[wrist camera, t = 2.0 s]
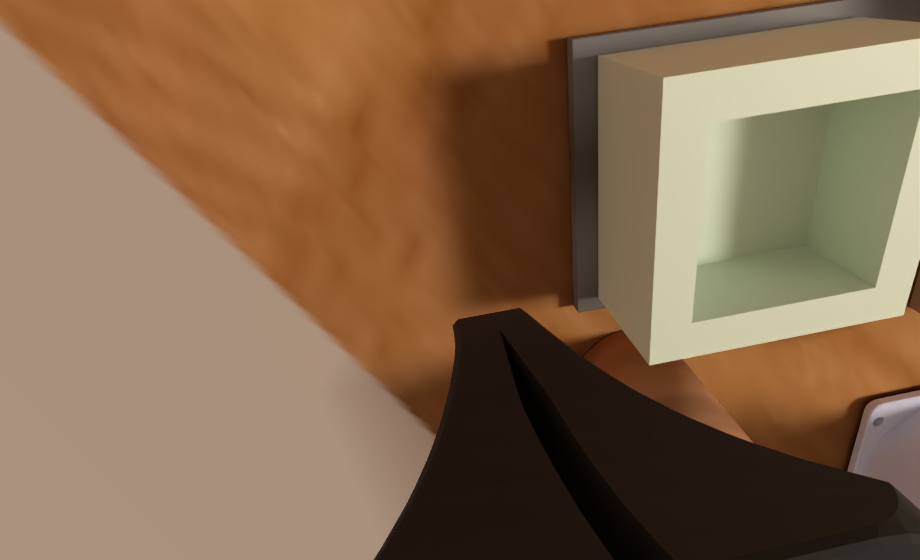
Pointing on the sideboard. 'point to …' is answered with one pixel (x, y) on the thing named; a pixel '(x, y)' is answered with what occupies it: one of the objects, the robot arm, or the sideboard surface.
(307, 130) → the sideboard surface
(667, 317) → the socket block
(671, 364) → the dowel
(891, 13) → the block
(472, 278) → the sideboard surface
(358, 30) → the sideboard surface
